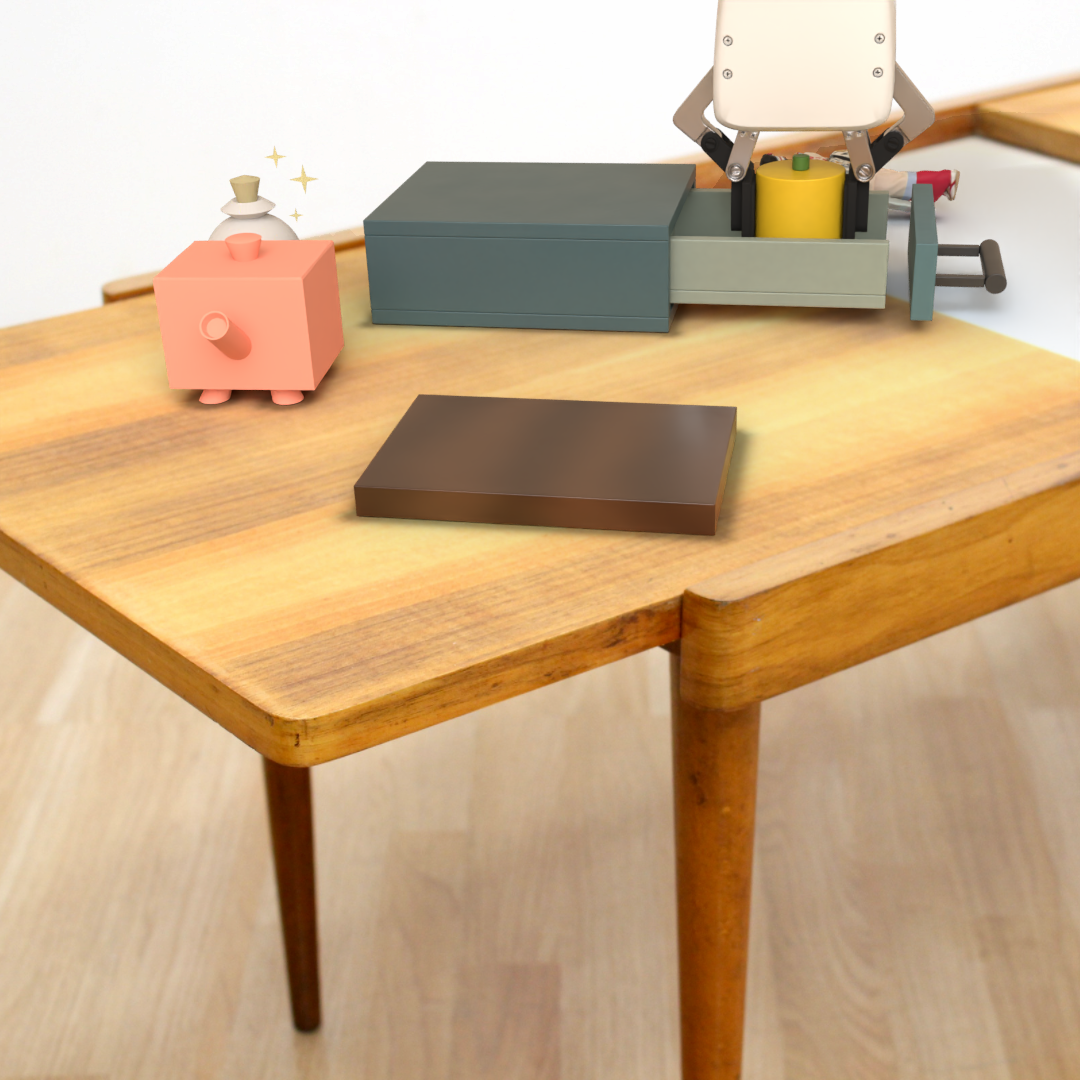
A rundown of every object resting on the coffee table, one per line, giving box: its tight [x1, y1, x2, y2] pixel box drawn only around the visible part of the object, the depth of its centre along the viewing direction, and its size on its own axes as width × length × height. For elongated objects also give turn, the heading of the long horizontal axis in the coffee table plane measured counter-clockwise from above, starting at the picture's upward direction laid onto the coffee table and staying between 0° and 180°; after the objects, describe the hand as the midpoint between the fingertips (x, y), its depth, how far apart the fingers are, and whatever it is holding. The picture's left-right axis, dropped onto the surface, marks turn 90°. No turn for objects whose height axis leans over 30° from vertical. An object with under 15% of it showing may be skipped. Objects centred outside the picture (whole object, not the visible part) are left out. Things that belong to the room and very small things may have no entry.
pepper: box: [755, 153, 846, 239], centre depth 92 cm, size 5×5×6 cm
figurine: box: [759, 149, 961, 213], centre depth 110 cm, size 6×8×15 cm
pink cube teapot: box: [152, 233, 345, 406], centre depth 82 cm, size 8×12×8 cm, turn 173°
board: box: [353, 393, 738, 536], centre depth 72 cm, size 16×11×2 cm
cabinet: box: [362, 160, 697, 333], centre depth 96 cm, size 18×14×6 cm
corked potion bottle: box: [207, 145, 318, 241], centre depth 94 cm, size 6×7×10 cm
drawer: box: [670, 184, 1008, 322], centre depth 92 cm, size 21×13×4 cm, turn 79°
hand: (798, 240), depth 92 cm, fingers closed on pepper, 5 cm apart
